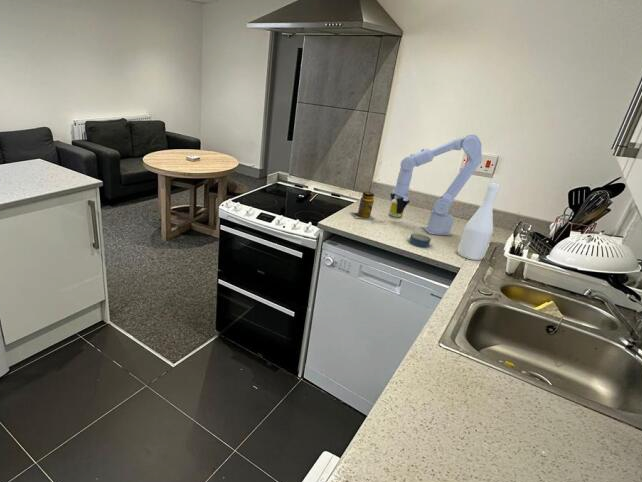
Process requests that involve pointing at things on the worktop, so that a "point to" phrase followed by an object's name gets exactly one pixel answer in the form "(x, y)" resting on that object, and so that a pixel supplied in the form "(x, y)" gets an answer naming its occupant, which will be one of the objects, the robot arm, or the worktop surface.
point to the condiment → (365, 206)
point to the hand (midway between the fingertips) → (396, 210)
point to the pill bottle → (394, 209)
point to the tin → (419, 240)
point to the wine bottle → (479, 228)
